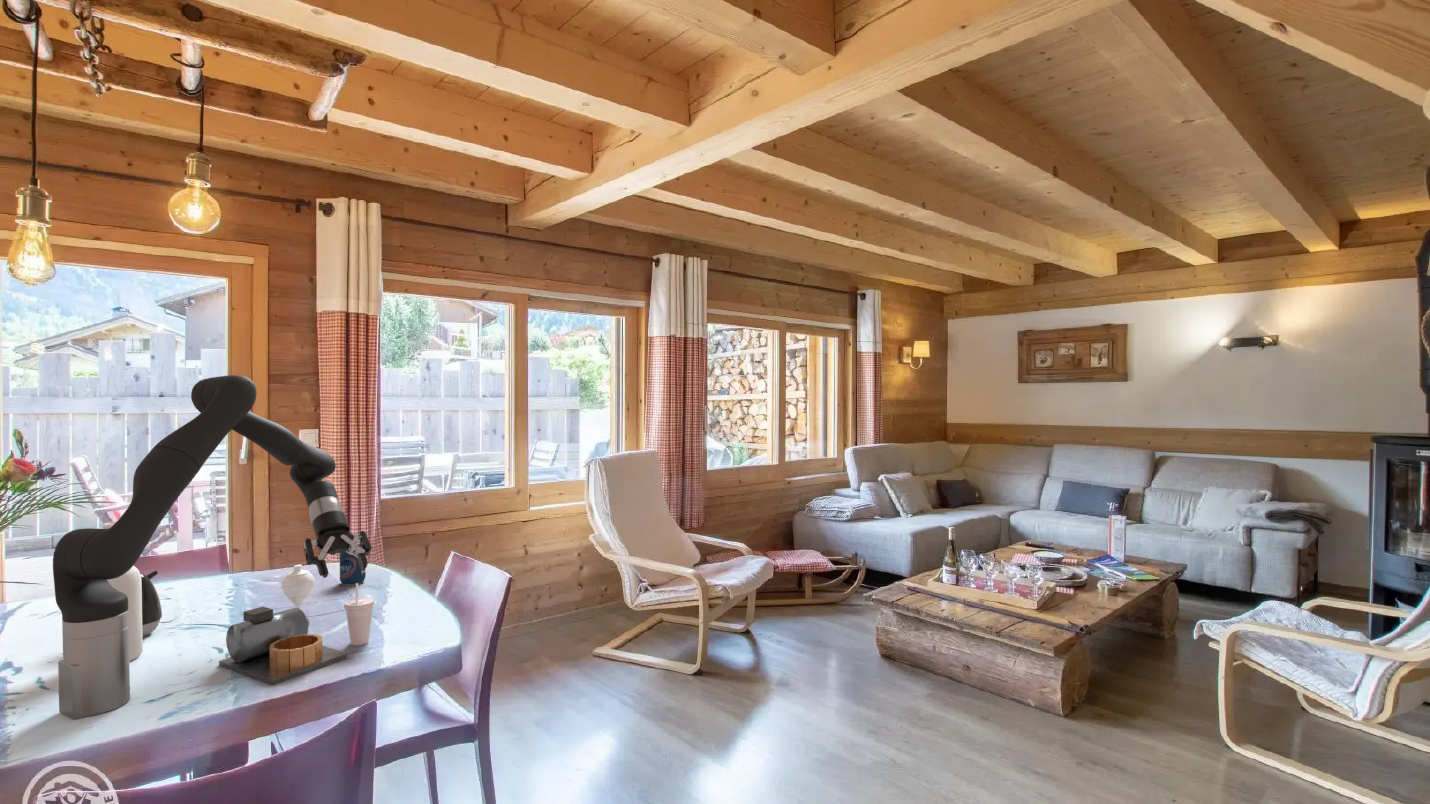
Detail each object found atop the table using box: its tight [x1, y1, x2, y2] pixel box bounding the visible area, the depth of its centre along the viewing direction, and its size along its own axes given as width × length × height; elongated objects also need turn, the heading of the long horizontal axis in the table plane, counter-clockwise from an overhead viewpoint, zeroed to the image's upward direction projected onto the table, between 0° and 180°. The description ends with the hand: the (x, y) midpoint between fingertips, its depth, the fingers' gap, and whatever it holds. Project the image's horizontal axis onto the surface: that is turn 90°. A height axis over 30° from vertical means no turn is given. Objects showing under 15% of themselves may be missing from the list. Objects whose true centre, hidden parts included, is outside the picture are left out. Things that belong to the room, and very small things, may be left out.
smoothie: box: [343, 583, 376, 646], centre depth 162 cm, size 6×6×14 cm
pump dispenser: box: [140, 570, 163, 638], centre depth 166 cm, size 10×10×15 cm
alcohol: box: [101, 521, 144, 663], centre depth 152 cm, size 9×9×30 cm
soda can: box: [339, 541, 366, 586], centre depth 211 cm, size 7×7×12 cm
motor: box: [218, 606, 349, 686], centre depth 151 cm, size 16×20×11 cm
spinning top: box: [280, 564, 316, 609], centre depth 186 cm, size 8×8×12 cm
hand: (345, 572), depth 168 cm, fingers open, 8 cm apart
